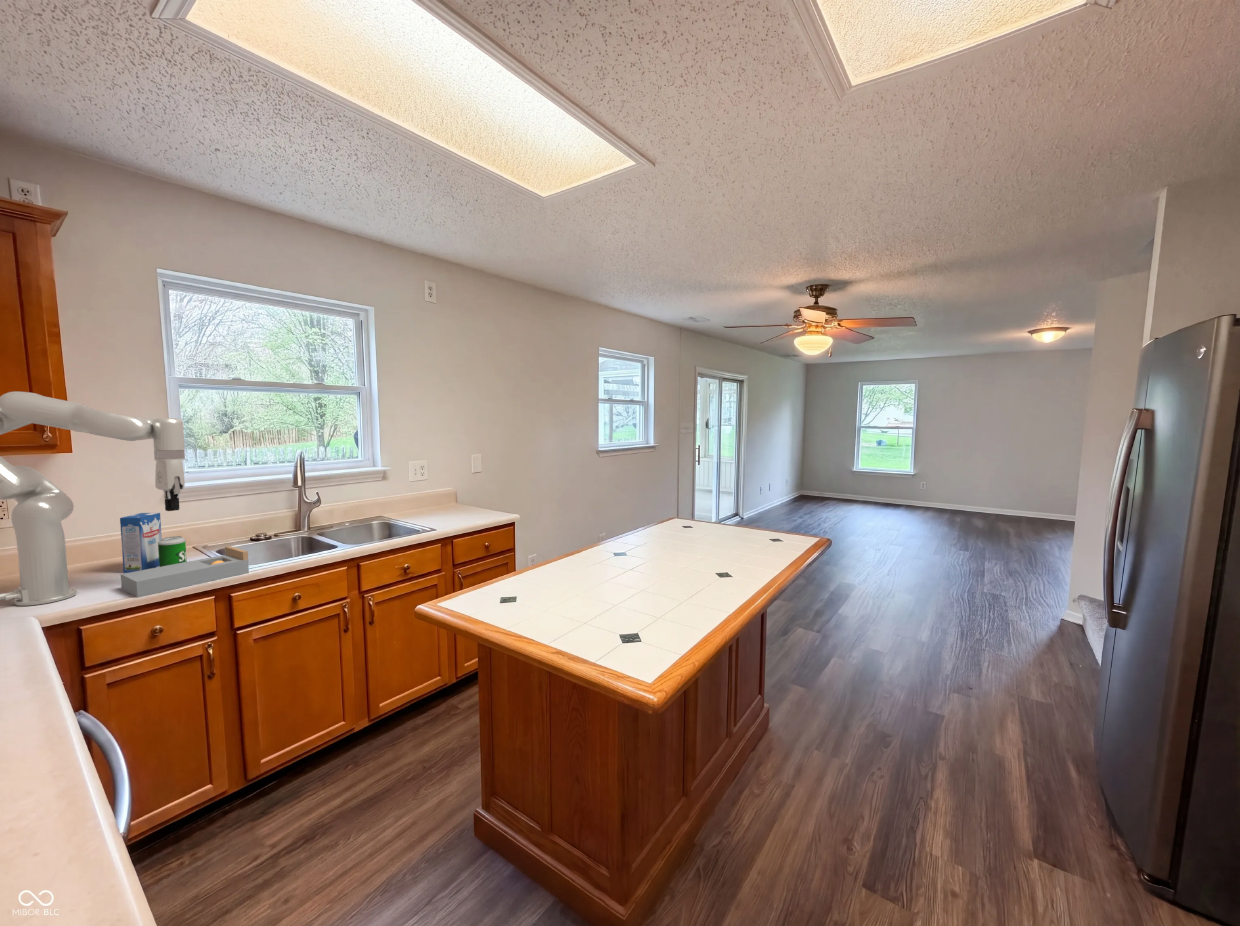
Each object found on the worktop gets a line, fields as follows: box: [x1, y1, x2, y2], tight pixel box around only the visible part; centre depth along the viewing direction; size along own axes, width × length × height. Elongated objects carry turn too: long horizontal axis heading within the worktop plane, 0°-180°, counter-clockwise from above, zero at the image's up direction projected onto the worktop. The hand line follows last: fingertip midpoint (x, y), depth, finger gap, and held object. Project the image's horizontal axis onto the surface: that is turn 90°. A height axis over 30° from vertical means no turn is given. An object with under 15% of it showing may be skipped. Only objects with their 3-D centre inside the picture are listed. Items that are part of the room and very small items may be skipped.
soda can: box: [158, 535, 188, 567], centre depth 182 cm, size 8×8×12 cm
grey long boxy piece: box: [120, 545, 250, 598], centre depth 170 cm, size 30×14×8 cm, turn 149°
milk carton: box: [119, 512, 163, 574], centre depth 182 cm, size 10×6×20 cm, turn 10°
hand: (172, 510), depth 166 cm, fingers closed
